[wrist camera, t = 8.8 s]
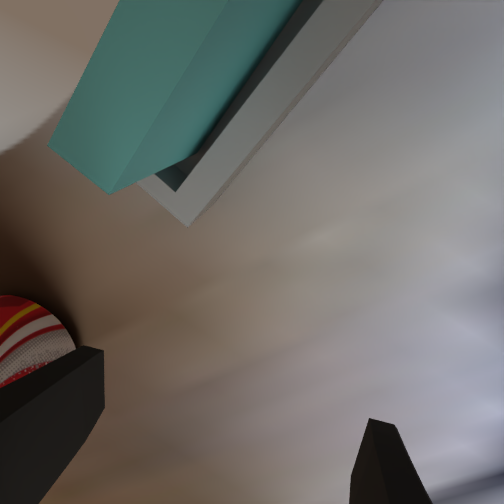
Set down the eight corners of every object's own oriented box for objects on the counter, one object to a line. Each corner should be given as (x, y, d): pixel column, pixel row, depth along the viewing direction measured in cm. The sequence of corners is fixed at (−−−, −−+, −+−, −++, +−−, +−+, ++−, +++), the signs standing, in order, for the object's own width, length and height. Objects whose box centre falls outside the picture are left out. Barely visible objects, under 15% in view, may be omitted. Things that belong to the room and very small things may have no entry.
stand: (423, -49, 14) (440, -79, 11) (210, 207, 19) (187, 227, 17) (296, -178, 14) (282, -242, 11) (111, 119, 19) (71, 126, 16)
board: (348, -65, 14) (344, -191, 7) (196, 153, 17) (108, 194, 11) (300, -108, 14) (255, -274, 7) (158, 121, 17) (47, 145, 11)
